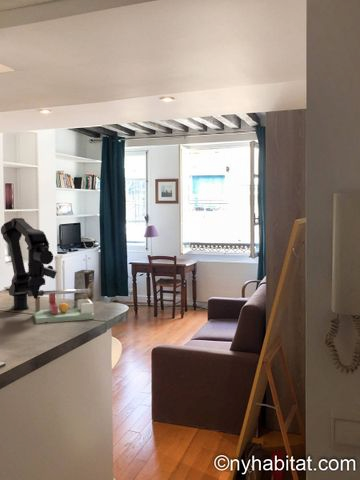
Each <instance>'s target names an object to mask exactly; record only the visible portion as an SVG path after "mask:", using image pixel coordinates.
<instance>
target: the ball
mask: <svg viewBox="0 0 360 480" xmlns="http://www.w3.org/2000/svg"><path fill="white" fill-rule="evenodd" d="M68 308H70V307H69V304H68V303H66V302H62V303H60V304H59V305H58V309H59V310H60V311H61V312H66V311H68Z"/></svg>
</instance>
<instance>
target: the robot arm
mask: <svg viewBox="0 0 360 480" xmlns="http://www.w3.org/2000/svg"><path fill="white" fill-rule="evenodd" d="M0 234H1V235H2V239H3V241H5V242H6V243H7V244H8V249H9V255H10V259H11V265H12V270H13V276H12V279H11V285H10V287H9V289H8V294H9V296H12V297H13V305H12V310H13V311H18V310H29V305H28V291H31V292H32V294H33V296H32V297H33V299H34V300H35V299H37V297H39V296H38V293H39V290H41V289H40V288H41V287H42V286H44V285H46V278H45V277H49V278H51V279H53V280H54V279H55V278H56V275H57V273H58V271H57V270H56V269H54V266H53V265H49V264H51V263H52V262H53V261H54V255H53V252H52V251H50V243H49V240H48V239H47V236H46V234H45V231H43V230H40V229H35V228H33V226H31V225H30V224H29V223H28V222H27V221H26V220H25V218H23V217H14V218H12V219H10V220H9V221H7V222H5V223H3V224H2V225H1V227H0ZM22 236H24V242H25V243H26V245H27V248H26V250H28V253H27V254H28V256H27V257H28V258H27V259H28V261H27V266H28V267H27V268H28V269H27V271H26V269H25V264H24V257H23V253H22V247H21V244H20V240H21V238H22ZM45 265H48V266H45Z"/></svg>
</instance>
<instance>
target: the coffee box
mask: <svg viewBox="0 0 360 480" xmlns="http://www.w3.org/2000/svg"><path fill="white" fill-rule="evenodd" d="M73 277H74V285H73V290H74V289H90V290H91V292H87V293H73V306H74V307H73V308H77V307H78V300H81V299H83V294H87V299H90V300H91V302H92V303H93V304H95V270H94V269H81V270H78V271H75V272H74V276H73Z"/></svg>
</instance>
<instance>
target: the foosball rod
mask: <svg viewBox="0 0 360 480" xmlns="http://www.w3.org/2000/svg"><path fill="white" fill-rule="evenodd" d="M87 292H91V290H90V289H74V288H73V289H61V290H60V289H57V290H44V289H43V290H42V289H39V293H38V297H43V296H44V295H45V296H47V295H48V304H49V306H48V307H49V309H50V311H51V314H58V309H59V305H58V304H57V303H56V295H63V294H64V295H65V294H66V295H67V294H68V295H69V294H74V293H87ZM29 297H34V296H33V294H32V292H31V291H28V294H27V298H29Z"/></svg>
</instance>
